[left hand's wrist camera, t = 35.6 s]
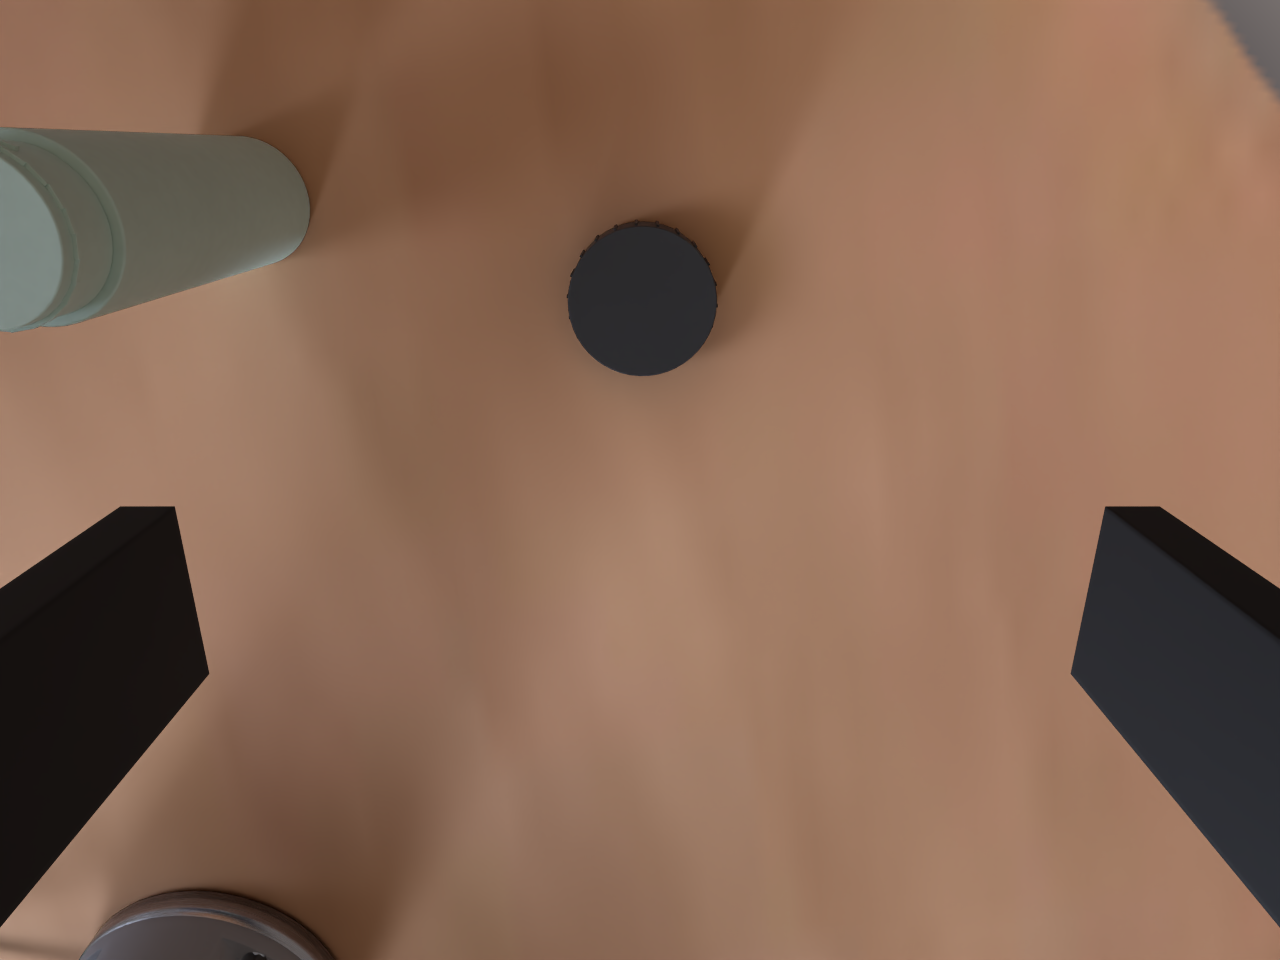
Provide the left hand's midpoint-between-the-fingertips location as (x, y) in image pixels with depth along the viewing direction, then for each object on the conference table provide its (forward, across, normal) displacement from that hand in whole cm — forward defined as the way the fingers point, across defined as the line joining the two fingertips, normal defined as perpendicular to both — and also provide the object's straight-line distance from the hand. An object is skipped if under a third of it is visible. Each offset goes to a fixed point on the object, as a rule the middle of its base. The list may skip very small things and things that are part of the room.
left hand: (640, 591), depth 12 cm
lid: (+24, 0, 0) cm, 25 cm away
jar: (+27, +16, -4) cm, 31 cm away
